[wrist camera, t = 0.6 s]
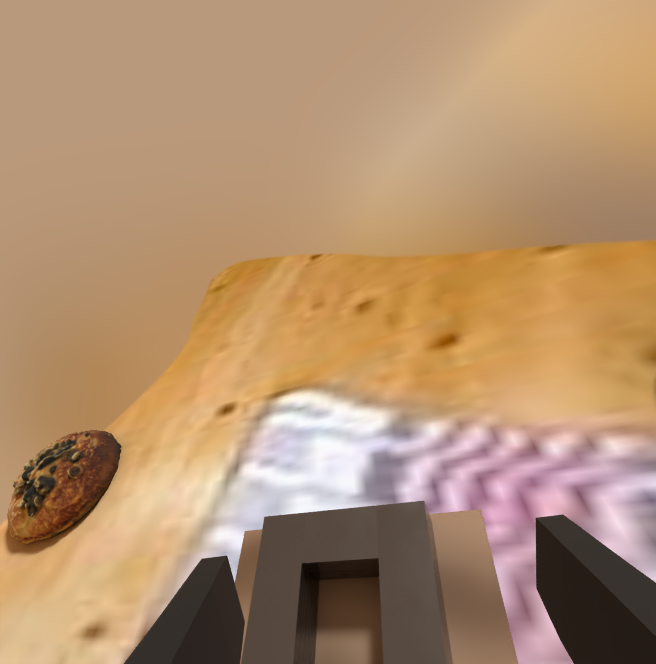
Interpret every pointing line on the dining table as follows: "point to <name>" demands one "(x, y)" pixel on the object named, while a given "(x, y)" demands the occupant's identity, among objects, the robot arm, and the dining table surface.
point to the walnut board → (365, 606)
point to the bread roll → (62, 484)
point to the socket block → (343, 563)
